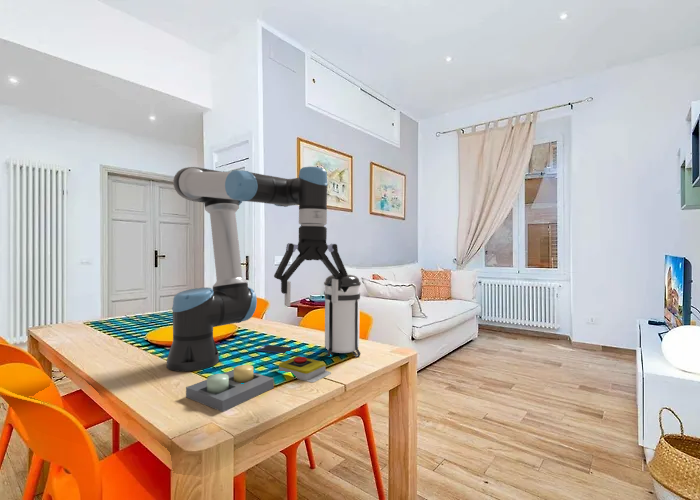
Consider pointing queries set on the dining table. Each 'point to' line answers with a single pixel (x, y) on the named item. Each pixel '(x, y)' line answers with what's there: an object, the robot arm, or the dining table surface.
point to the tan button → (243, 373)
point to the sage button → (217, 383)
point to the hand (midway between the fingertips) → (311, 304)
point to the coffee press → (342, 316)
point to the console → (230, 392)
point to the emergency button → (305, 368)
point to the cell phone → (274, 349)
